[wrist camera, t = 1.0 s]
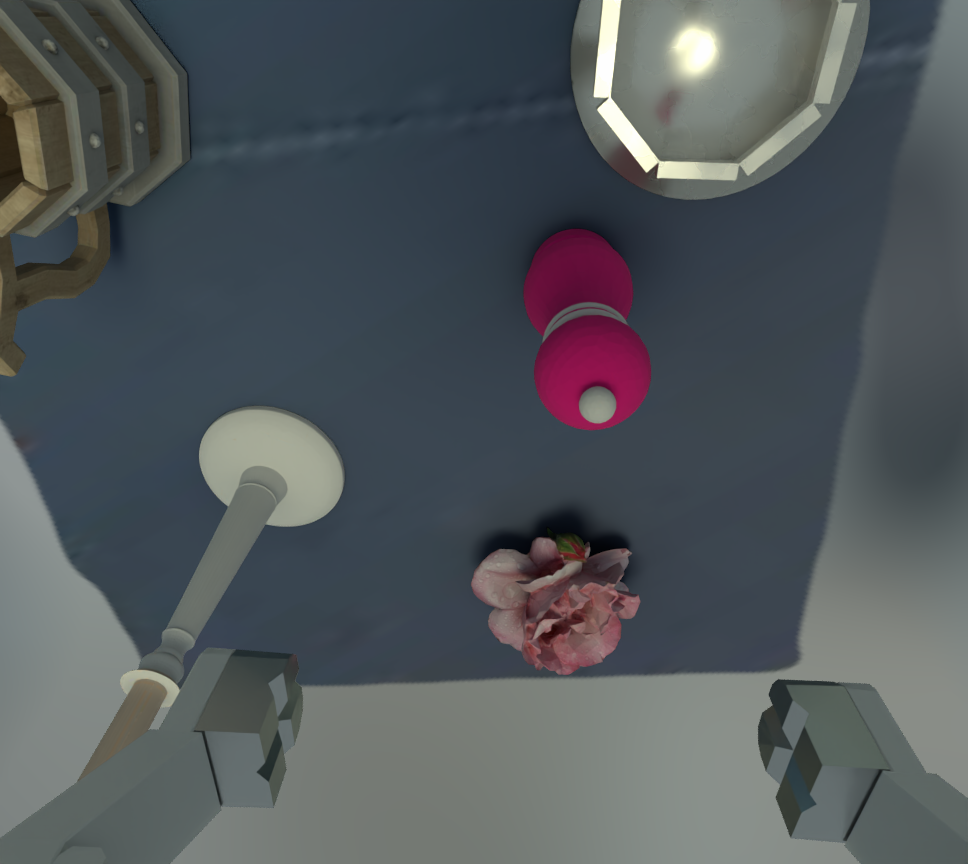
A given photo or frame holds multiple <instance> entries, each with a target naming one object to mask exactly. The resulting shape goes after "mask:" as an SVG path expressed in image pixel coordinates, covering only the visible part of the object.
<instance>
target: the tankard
mask: <svg viewBox="0 0 968 864" xmlns="http://www.w3.org/2000/svg"><path fill="white" fill-rule="evenodd" d="M189 160H190V138H189V112H188V86H187V73H186V72H185V70H184V69H183V68H182V66H181V65H180V64H179V63H178V61H177V60H176V59H175V57H174V56H173V55H172V54H171V52H170V51H169V50H168V48H167V47H166V46H165V45H164V43H163V42H162V41H161V40H160V38H159V37H158V36H157V34H156V33H155V32H154V31H153V29H152V28H151V27H150V25H149V24H148V23H147V22H146V20H145V19H144V18H143V16H142V15H141V14H140V13H139V11H138V10H137V9H136V7H135V6H134V5H133V4H132V2H131V1H130V0H0V374H1V375H6V376H14V375H16V374H17V373H18V371H19V369H20V367H21V365H22V363H23V361H24V359H25V357H26V355H25V353H24V352H23V351H22V350H21V349H20V348H19V347H18V346H17V344H16V343H15V342H14V341H13V336H14V331H15V325H16V320H17V314H18V311H20V310H22V309H24V308H26V307H29V306H31V305H33V304H36V303H38V302H40V301H43V300H45V299H61V298H75V297H77V296H78V295H80V294H81V293H83V292H84V291H85V290H87V289H88V288H90V287H91V286H93V285H94V284H95V282H96V281H97V279H98V277H99V275H100V274H101V272H102V270H103V268H104V266H105V265H106V263H107V261H108V259H109V258H110V222H109V216H108V209H107V202H112V203H117V204H121V205H126V206H132V205H134V204H137V203H139V202H140V201H141V200H143V199H144V198H145V197H146V196H147V195H148V194H150V193H151V192H152V191H153V190H154V189H156V188H157V187H158V186H159V185H160V184H162V183H163V182H164V181H165V180H166V179H167V178H169V177H170V176H171V175H172V174H173V173H175V172H176V171H177V170H178V169H179V168H180V167H182V166H183V165H184V164H185V163H186V162H188V161H189ZM70 215H71V216H75V215H76V219H77V223H78V245H77V247H76V248H75V250H74V252H73V253H72V255H71V256H70V258H68V259H66V260H65V261H63V262H62V263H60V264H46V263H26V264H23V265H20V266H17V267H15V264H14V258H13V252H12V246H11V240H10V234H11V233H17V234H21V235H26V236H31V237H37V236H39V235H41V234H44V233H46V232H48V231H50V230H52V229H54V228H57V227H58V226H59V225H60V224H61V223H63V222H64V221H65V220H66V219H67V218H68V217H69V216H70Z"/></svg>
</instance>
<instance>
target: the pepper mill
mask: <svg viewBox="0 0 968 864" xmlns="http://www.w3.org/2000/svg"><path fill="white" fill-rule="evenodd" d="M523 294H524V303H525V307H526V311H527V315H528V317H529V319H530V321H531V323H532V324H533V326H534V327H535V328H536V329H537V331H538V332H539V333H540V334H541V335H542V336H543V342H542V345H541V346H540V349H539V352H538V355H537V357H536V360H535V368H534V380H535V384H536V388H537V391H538V394H539V397H540V399H541V401H542V402H543V404H544V406H545V407H546V408H547V409H548V410H549V412H550V413H551V414H552V415H553V416H555V417H556V418H557V419H558V420H560V421H561V422H563V423H565V424H567V425H569V426H572V427H575V428H578V429H586V430H598V429H604V428H608V427H612V426H614V425H616V424H618V423H620V422H622V421H623V420H625V419H626V418H628V417H629V416H630V415H631V414H632V413H633V412H634V411H635V410H636V409H637V408H638V407H639V406H640V404H641V403H642V402H643V400H644V398H645V396H646V394H647V392H648V388H649V384H650V381H651V365H650V358H649V354H648V351H647V349H646V346H645V345H644V343H643V342H642V340H641V339H640V337H639V335H638V334H637V333H636V332H634V331H633V330H632V329H631V328H630V327H629V326H628V324H627V322H626V319H627V317H628V314H629V311H630V309H631V306H632V300H633V285H632V279H631V274H630V271H629V269H628V266H627V265H626V263H625V261H624V260H623V258H622V257H621V256H620V255H619V253H618V252H616V251H615V250H614V249H613V248H612V247H611V246H610V244H609V243H608V242H607V241H606V240H605V239H604V238H603V237H601V236H600V235H598V234H596V233H594V232H592V231H588V230H585V229H568V230H564V231H561V232H558V233H556V234H554V235H552V236H551V237H550V238H548V239H547V240H546V241H545V242H544V243H543V244H542V245H541V246H540V247H539V248H538V250H537V252H536V253H535V255H534V258H533V261H532V264H531V267H530V269H529V271H528V273H527V276H526V279H525V283H524V293H523Z"/></svg>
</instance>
